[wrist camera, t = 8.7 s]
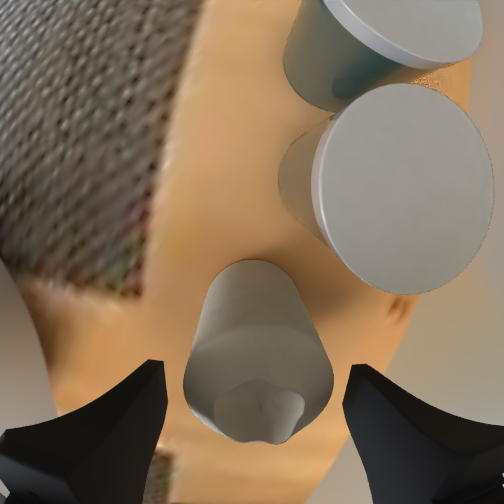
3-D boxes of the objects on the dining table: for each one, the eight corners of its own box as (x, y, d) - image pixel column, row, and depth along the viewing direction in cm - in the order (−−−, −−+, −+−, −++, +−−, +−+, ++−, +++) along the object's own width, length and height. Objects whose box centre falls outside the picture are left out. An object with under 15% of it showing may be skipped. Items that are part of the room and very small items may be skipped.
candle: (273, 241, 18) (306, 317, 8) (312, 318, 19) (362, 431, 10) (189, 284, 19) (142, 388, 9) (234, 355, 20) (229, 480, 10)
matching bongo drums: (373, 235, 18) (479, 293, 9) (273, 230, 18) (309, 295, 8) (379, 33, 15) (465, -43, 5) (283, 16, 15) (315, -94, 5)
